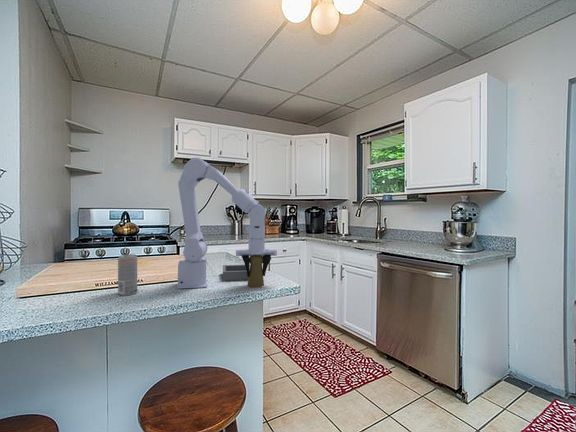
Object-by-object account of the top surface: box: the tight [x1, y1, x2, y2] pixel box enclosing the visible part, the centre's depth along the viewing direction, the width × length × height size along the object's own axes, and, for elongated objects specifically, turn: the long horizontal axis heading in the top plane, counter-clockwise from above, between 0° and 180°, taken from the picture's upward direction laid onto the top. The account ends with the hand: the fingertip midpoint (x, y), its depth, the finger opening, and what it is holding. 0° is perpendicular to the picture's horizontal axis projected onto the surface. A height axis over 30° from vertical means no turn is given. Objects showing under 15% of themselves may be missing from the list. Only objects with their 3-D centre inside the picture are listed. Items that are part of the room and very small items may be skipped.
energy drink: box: [117, 253, 138, 297], centre depth 90 cm, size 5×5×12 cm
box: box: [222, 264, 250, 282], centre depth 113 cm, size 11×11×4 cm
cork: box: [247, 255, 265, 288], centre depth 103 cm, size 6×6×11 cm
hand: (255, 275), depth 103 cm, fingers closed on cork, 5 cm apart
